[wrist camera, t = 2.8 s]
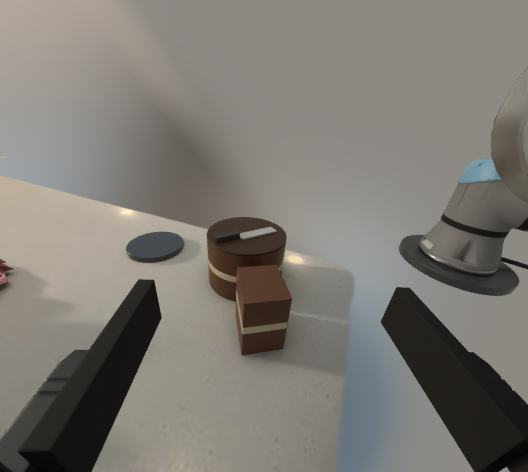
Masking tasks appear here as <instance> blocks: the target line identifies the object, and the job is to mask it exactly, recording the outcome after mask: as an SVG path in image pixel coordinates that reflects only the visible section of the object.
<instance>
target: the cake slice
mask: <svg viewBox="0 0 528 472" xmlns="http://www.w3.org/2000/svg"><path fill="white" fill-rule="evenodd" d="M291 301H292V298H291V296H290V293H289V291H288V289H287V287H286V285H285V282H284V280H283V278H282V276H281V274H280V271H279V269H278V267H277V265H266V266H252V267H238V268H237V285H236V319H237V326H238V334H239V341H240V348H241V355H246V354H252V353H258V352H265V351H271V350H277V349H283V346H284V341H285V335H286V329H287V323H288V318H289V312H290V306H291Z"/></svg>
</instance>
